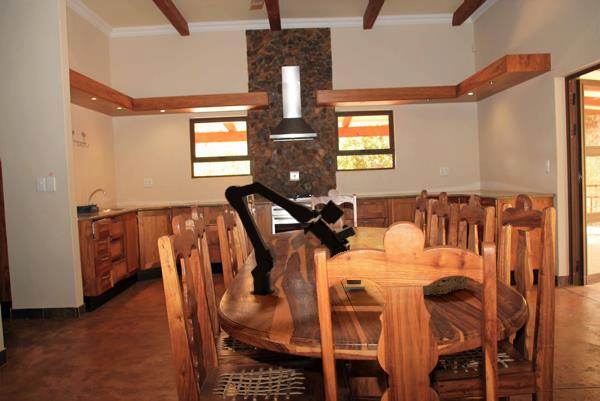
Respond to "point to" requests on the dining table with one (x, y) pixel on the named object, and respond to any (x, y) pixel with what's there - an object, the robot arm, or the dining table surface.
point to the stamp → (353, 281)
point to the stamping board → (354, 289)
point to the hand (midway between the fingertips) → (357, 266)
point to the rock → (446, 285)
